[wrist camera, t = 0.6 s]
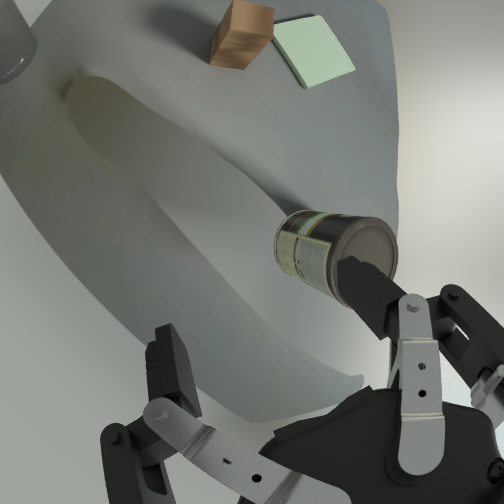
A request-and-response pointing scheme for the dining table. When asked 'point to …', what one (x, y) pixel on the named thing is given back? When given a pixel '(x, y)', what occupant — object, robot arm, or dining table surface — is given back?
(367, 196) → the dining table surface
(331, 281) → the coffee can
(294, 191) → the dining table surface
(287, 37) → the rubber mat
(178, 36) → the dining table surface
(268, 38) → the walnut block
